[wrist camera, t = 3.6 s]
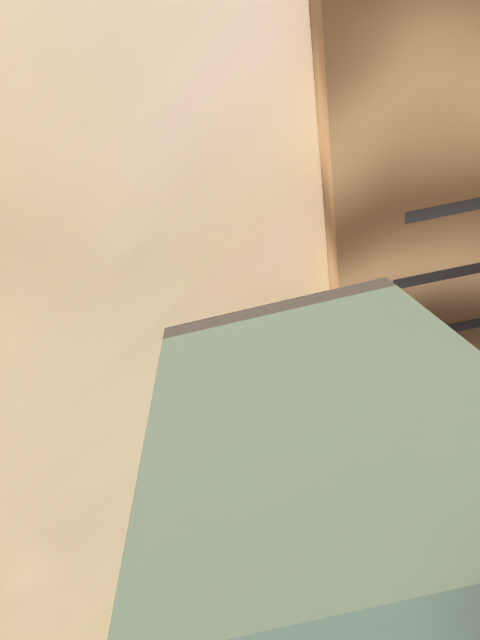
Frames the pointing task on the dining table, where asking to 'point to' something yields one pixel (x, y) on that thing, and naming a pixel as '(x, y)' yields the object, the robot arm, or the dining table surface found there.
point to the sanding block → (308, 477)
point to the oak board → (402, 148)
